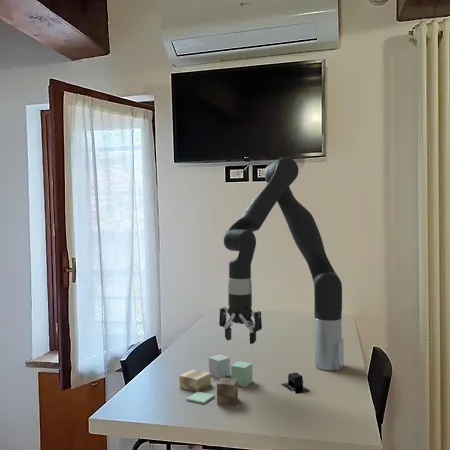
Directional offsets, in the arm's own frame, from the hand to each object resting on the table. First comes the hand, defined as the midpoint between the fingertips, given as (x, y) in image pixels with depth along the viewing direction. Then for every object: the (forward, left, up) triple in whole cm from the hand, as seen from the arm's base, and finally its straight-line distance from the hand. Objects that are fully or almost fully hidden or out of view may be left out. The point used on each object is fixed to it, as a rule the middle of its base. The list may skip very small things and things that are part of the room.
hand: (240, 341), depth 158 cm
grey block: (+9, -3, -13) cm, 17 cm away
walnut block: (-4, +15, -13) cm, 21 cm away
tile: (+4, +17, -13) cm, 22 cm away
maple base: (+11, +9, -14) cm, 20 cm away
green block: (-1, 0, -13) cm, 13 cm away
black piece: (-17, -4, -14) cm, 22 cm away
